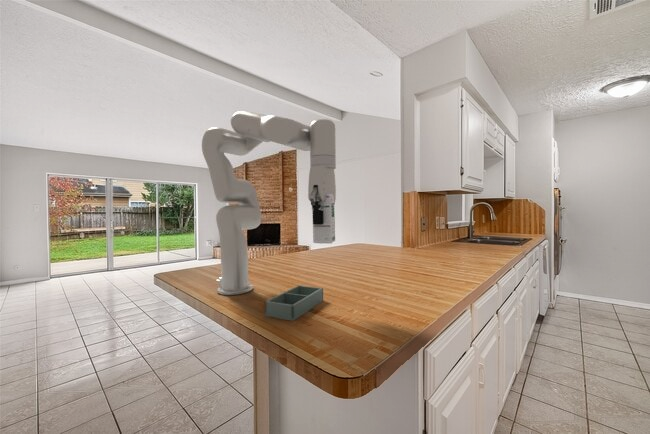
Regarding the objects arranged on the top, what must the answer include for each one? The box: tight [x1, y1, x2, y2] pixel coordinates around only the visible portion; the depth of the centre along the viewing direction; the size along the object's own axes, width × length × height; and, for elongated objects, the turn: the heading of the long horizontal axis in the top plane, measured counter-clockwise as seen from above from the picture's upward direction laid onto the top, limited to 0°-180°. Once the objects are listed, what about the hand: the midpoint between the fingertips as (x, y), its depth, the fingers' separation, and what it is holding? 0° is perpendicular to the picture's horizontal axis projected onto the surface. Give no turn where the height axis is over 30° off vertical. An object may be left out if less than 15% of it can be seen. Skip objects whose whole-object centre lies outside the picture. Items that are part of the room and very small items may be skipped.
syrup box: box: [312, 193, 336, 244], centre depth 83 cm, size 6×6×14 cm
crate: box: [264, 285, 324, 322], centre depth 84 cm, size 18×9×4 cm, turn 154°
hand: (323, 223), depth 83 cm, fingers closed on syrup box, 6 cm apart
